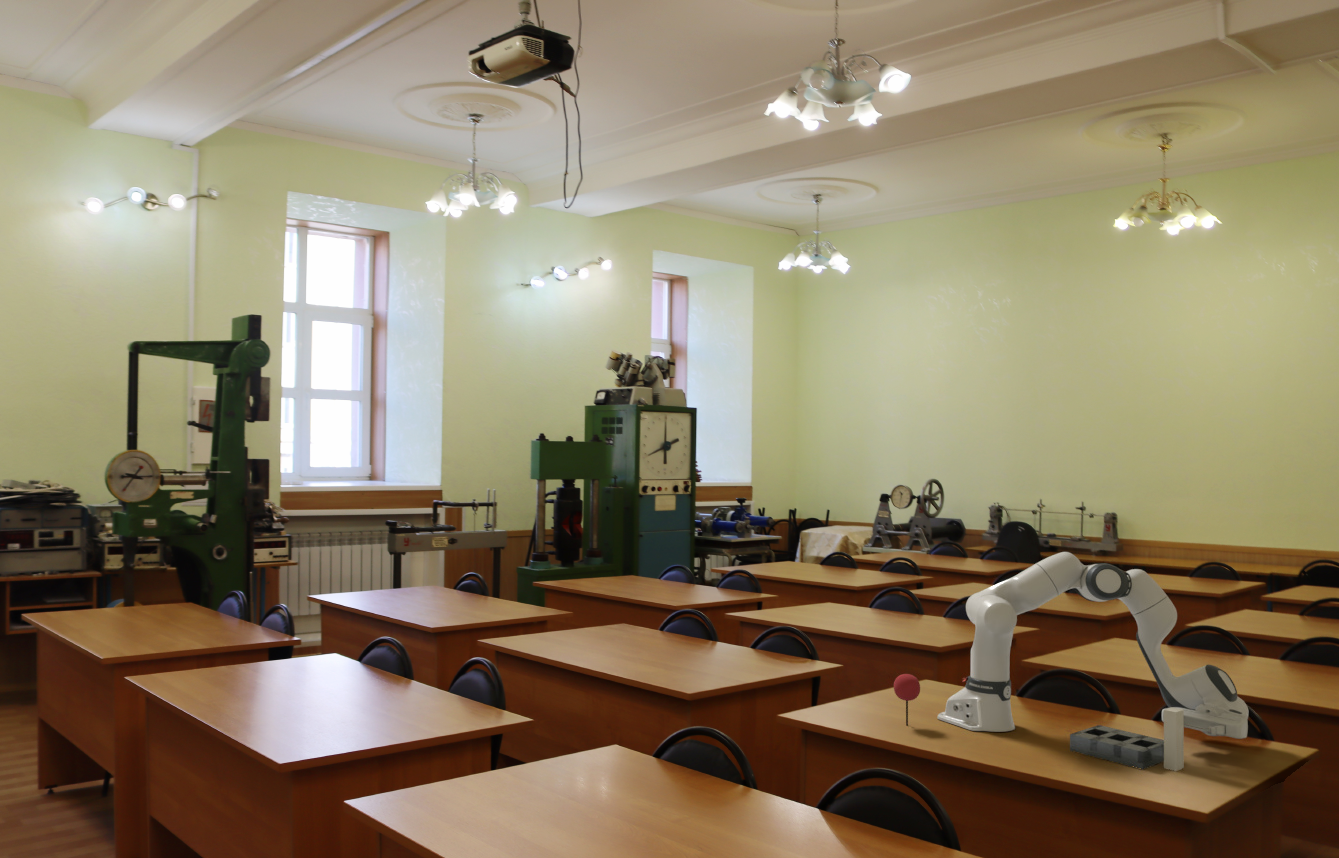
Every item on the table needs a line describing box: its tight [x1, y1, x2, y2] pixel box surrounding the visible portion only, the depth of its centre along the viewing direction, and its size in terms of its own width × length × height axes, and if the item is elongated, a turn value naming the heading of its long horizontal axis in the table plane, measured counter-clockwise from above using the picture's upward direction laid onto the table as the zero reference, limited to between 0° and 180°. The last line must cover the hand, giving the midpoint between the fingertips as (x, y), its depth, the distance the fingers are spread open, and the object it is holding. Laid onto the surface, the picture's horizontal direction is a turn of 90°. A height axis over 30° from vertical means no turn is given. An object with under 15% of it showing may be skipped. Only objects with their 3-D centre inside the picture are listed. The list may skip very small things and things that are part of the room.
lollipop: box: [893, 673, 921, 726], centre depth 281 cm, size 8×8×15 cm
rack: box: [1069, 724, 1164, 770], centre depth 256 cm, size 16×20×4 cm
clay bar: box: [1163, 707, 1185, 772], centre depth 245 cm, size 4×3×15 cm, turn 129°
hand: (1191, 726), depth 252 cm, fingers open, 8 cm apart
